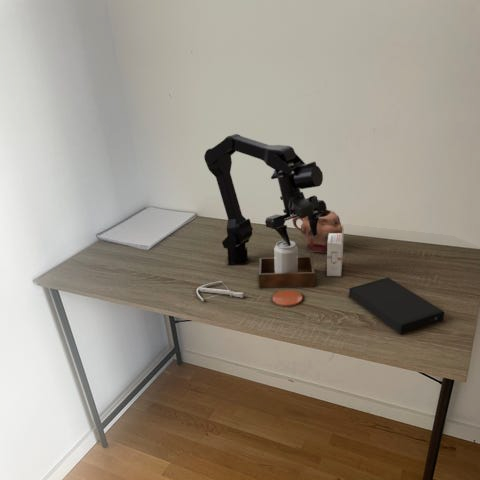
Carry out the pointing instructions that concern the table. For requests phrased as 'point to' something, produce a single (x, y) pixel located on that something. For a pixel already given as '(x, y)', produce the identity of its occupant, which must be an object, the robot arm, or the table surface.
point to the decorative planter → (319, 230)
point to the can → (286, 257)
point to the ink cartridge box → (334, 253)
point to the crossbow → (217, 291)
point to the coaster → (287, 298)
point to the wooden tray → (286, 274)
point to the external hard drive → (396, 305)
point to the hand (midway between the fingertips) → (302, 240)
